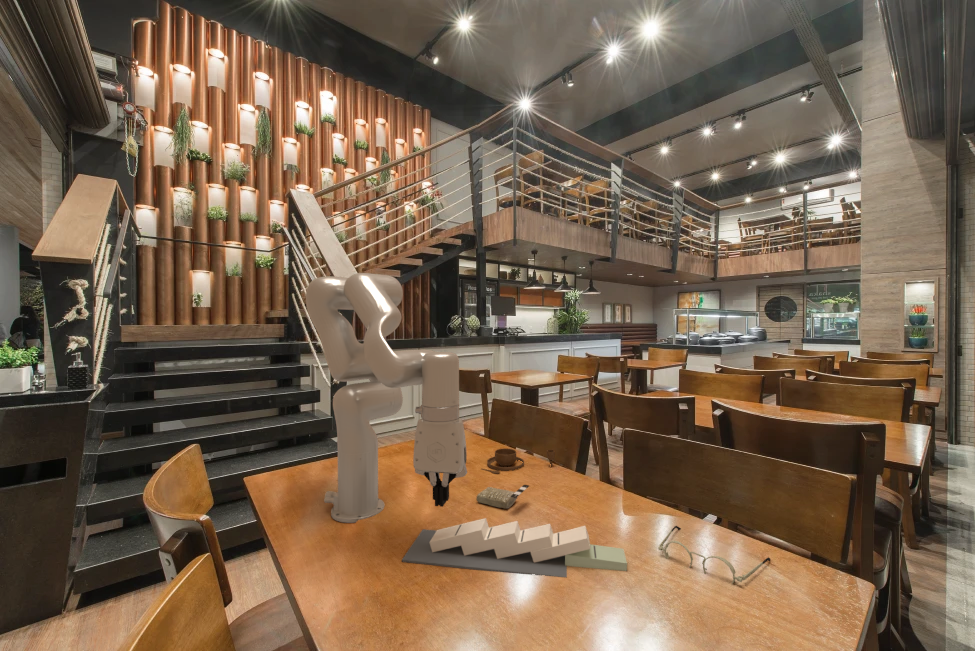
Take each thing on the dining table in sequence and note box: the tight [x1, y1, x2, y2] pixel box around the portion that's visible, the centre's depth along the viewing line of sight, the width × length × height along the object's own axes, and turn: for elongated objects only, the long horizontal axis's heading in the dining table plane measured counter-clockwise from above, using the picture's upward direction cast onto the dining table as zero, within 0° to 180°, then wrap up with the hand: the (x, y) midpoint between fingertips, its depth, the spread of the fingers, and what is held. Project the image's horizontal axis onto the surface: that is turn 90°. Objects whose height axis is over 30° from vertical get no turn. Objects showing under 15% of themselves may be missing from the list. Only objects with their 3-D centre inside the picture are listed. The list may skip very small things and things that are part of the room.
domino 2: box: [461, 520, 522, 556], centre depth 83 cm, size 2×5×11 cm
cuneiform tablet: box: [476, 484, 530, 510], centre depth 105 cm, size 7×4×12 cm
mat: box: [401, 529, 568, 578], centre depth 83 cm, size 31×12×1 cm, turn 79°
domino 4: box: [531, 525, 591, 563], centre depth 80 cm, size 2×5×11 cm
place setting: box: [481, 448, 556, 475], centre depth 132 cm, size 18×20×6 cm
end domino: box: [565, 543, 628, 572], centre depth 79 cm, size 2×5×11 cm
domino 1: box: [429, 517, 489, 552], centre depth 84 cm, size 2×5×11 cm
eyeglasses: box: [657, 525, 771, 585], centre depth 80 cm, size 17×15×5 cm
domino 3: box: [494, 523, 554, 559], centre depth 81 cm, size 2×5×11 cm
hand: (440, 503), depth 84 cm, fingers closed
